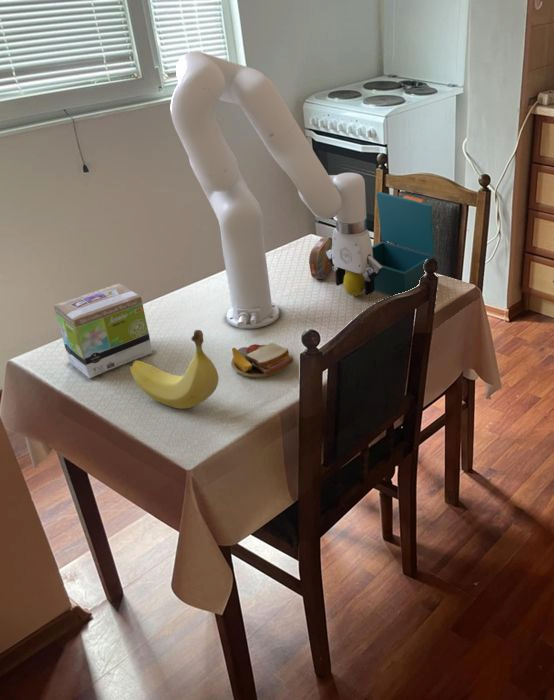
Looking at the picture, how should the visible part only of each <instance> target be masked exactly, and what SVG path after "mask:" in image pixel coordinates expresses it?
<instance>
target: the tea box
mask: <svg viewBox="0 0 554 700" xmlns="http://www.w3.org/2000/svg"><path fill="white" fill-rule="evenodd" d="M53 307H54V311H55V316H56V319H57V323H58V326H59V330H60V334H61V337H62V341H63V344H64V348H65V352H66V355H67V359H68V362H69V363H70V364H71V365H73V367H75V368H76V369H77V370H79V371H80V372H81V373H82V374H83V375H84V376H86V377H87V378H88V379H92V378H94V377H96V376H98V375H101V374H104V373H105V372H108V371H110V370H113V369H115V368H118V367H120V366H123V365H125V364H127V363H131V362H133V361H135V360H139V359H140V358H143V357H146V356H148V355H151V354H152V353H153V349H152V342H151V338H150V333H149V328H148V323H147V318H146V313H145V309H144V304H143V299H142V296H140V294H137V293H136V292H134V291H132V289H129V288H128V287H126V286H125V285H124V284H122V283H120V282H118V283H115V284H112V285H109V286H107V287H103V288H101V289H97V290H94V291H91V292H89V293H85V294H82V295H80V296H77V297H73V298H70V299H68V300H64V301H61V302H59V303H56V304H53Z"/></svg>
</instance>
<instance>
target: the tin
mask: <svg viewBox="0 0 554 700" xmlns="http://www.w3.org/2000/svg"><path fill="white" fill-rule="evenodd" d="M332 238H333V237H321V238H320V239H319V240H318V241H317V243H315V245H314V247H312V249H311V251H310V253H309V257H308V264H309V269H310V270H309V271H310V275H311V277H312V279H318V280H319V279H320V280H324V279H325V278H326V277H327V275H328V274H329V273H330V271H331V269H333V266H332V265H331V263H330V262H329V258H328V256H327V254H326V251H328V250H330V249H332Z"/></svg>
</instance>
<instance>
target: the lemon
mask: <svg viewBox="0 0 554 700" xmlns="http://www.w3.org/2000/svg"><path fill="white" fill-rule="evenodd" d="M364 281H365V278H364V276H363V274H358V273H354V272H351V271H348V270H346V271H345V276H344V281H343V284H342V285H343V288H344V290H345V292H346V293H347V294H348V295H350V296H353V297H354V298H356V297H357V296H361V294H362V293H363V292H365V288H364Z"/></svg>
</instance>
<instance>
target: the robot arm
mask: <svg viewBox="0 0 554 700" xmlns="http://www.w3.org/2000/svg"><path fill="white" fill-rule="evenodd" d="M175 68H176V70H175V72H176V73H175V74H176V77H177V81H178V83H177V85H176V87H175V89H174V91H173V93H172V97H171V102H170V117H171V120H172V124H173V127H174V130H175V132H176V133H177V135H178V138H179V140H180V142H181V145H182V146H183V148H184V150H185V152H186V155H187V157H188V160H189V165H190V167H191V169H192V171H193V173H194V175H195V177H196V179H197V181H198V183H199V185H200V187H201V189H202V190H203V192H204V194H205V197H206V198H207V200H208V202H209V204H210V206H211V208H212V210H213V212H214V214H215V216H216V219H217V221H218V224H219V230H220V239H221V247H222V254H223V255H222V256H223V261H224V266H225V267H224V268H225V274H226V280H227V287H228V292H229V298H230V304H231V307H230V308H229V309H228V311H227V312H226V320H227V322H228V324H230V325H231V326H233V327H235V328H239V329H241V330H242V329H258V328H259V329H260V328H262V327H265V326H269V325H271V324H273V323H274V322H275V321H276V320H277V319H278V318H279V316H280V308H279V307H278V306H277V304H275V303H273V302H272V294H271V288H270V286H271V285H270V279H269V271H268V263H267V254H266V247H265V237H264V216H263V211H262V209H261V206H260V203H259V202H258V200H257V199H256V197H255V195H254V194H253V193H252V192H251V190H250V189H249V187H248V185H247V183H246V181H245V178H244V177H243V175H242V172H241V171H240V169H239V167H240V166H239V163H238V160H237V158H236V156H235V154H234V153H233V151H232V149H231V148H230V146H229V145H228V143H227V140H226V138H225V136H224V134H223V132H222V130H221V127H220V125H219V122H218V120H217V118H216V114H215V113H216V112H215V110H216V105H217V103H218V101H222V102H226V103H230V104H234V105H239V107H240V108H241V110H242V112H243V113H244V114H245V116H246V118H247V120H248V121H249V122H250V124H251V125H252V127H253V129H254V130H255V132H256V134H257V135H258V137H259V138H260V140H261V141H262V143H263V144H264V146H265V147H266V149H267V151H268V152H269V154H270V155H271V156H272V158H273V159H274V160H275V162H276V164H278V166H280V168H281V169H282V170H283V172H285V173H286V174H287V176H288V177H289V178H290V180H291V182H292V183H293V185H294V186H295V187H296V189H297V190H298V191H297V192H298V196H299V198H300V199H301V201H302V202H303V203H304V205H305V206H306V207H307V208H308V209H309V211H310V212H311V213H312V215H314V216H315V217H317V218H318V219H321V220H330V219H333V222H335V227H334V228H333V232H332V237H331V238H332V249H330V250H328V251H326V254H327V256H328V258H329V262H330V263H331V265H332V266H333V267H332V270H333V272H334V273H335V285H336V286H337V287H338V286H341V285H344V284H343V281H344V276H345V274H346V271H351V272H354V273H358V274H363V276H364V277H365V279H366V280H365V281H364V295H365V296H369V295H371V294H373V293H374V292H375V291H376V290H375V285H374V278H376V277H377V276H378V275H379V274H380V271H381V269H382V266H381V265H380V264H379V263H378V262H377V261H376V260H375V259H374V258H373V251H372V247H373V244H372V239H371V234H370V232H369V230H368V221H367V219H368V217H367V200H366V183H365V177H363V175H361V174H360V173H356V172H342V173H339V174H329V173H328V172H327V169H325V167H324V165H323V164H322V162H321V161H320V159H319V157H318V156H317V154H316V152H315V151H314V149H313V147H312V146H311V144H310V142H309V140H308V139H307V137H306V136H305V134H304V132H303V130H302V128H301V127H300V126H299V124H298V122H297V121H296V119H295V118H294V116H293V114H292V113H291V111H290V109H289V108H288V106H287V104H286V102H285V101H284V99H283V97H282V96H281V94H280V92H279V91H278V89H277V87H276V85H275V84H274V83H273V82H272V80H271V79H270V78H269V77H267V76H266V75H265V74H264V73H262V72H261V71H260V70H257V69H255V68H252V67H249V66H246V65H242V64H239V63H236V62H232V61H229V60H226V59H223V58H220V57H217V56H215V55H211V54H208V53H205V52H202V51H201V52H200V51H190V52H187V53H185V54H184V55H182V56H181V57H180V59H179V60H178V62H177V64H176V67H175ZM372 267H373V268H374V271H373V269H372ZM367 270H368V272H369V273H370V275H368V273H367Z"/></svg>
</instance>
